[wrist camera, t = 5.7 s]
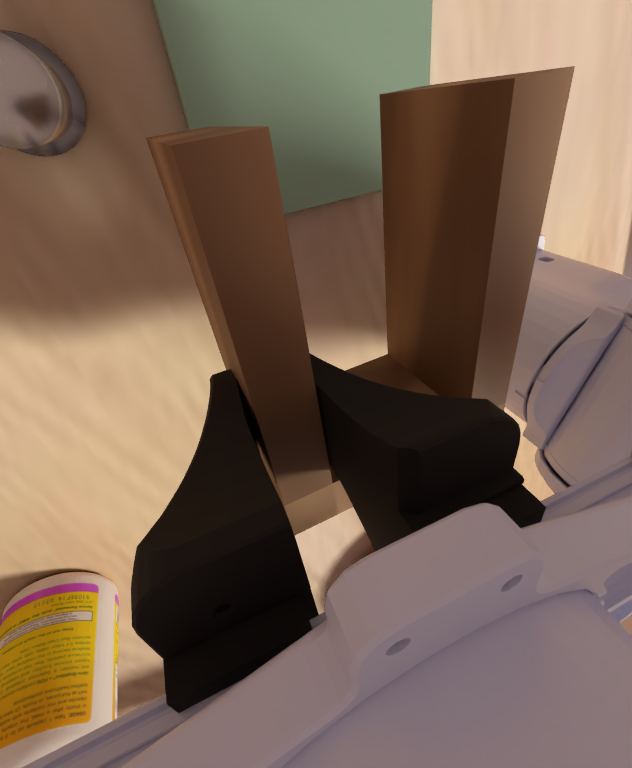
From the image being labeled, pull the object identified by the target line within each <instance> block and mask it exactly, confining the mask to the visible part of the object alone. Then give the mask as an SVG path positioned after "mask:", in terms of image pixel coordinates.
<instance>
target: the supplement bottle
mask: <svg viewBox="0 0 632 768" xmlns="http://www.w3.org/2000/svg"><path fill="white" fill-rule="evenodd" d="M118 610H119V602H118V591H117V588H116V586H115V585H114V584H113V583H112V582H111V581H110V580H109V579H107V578H105V577H103V576H101V575H98V574H94V573H89V572H68V573H62V574H57V575H53V576H50V577H47V578H44V579H41V580H39V581H36V582H34V583H32V584H30V585H28V586H27V587H25V588H24V589H22V590H21V591H20V592H18V593H17V594H16V595H15V596H14V597H13V598H12V599H11V600H10V601H9V603H8V604H7V606H6V608H5V610H4V612H3V615H2V619H1V622H0V768H21V767H23V766H25V765H27V764H29V763H31V762H33V761H35V760H37V759H39V758H41V757H43V756H45V755H47V754H49V753H51V752H53V751H55V750H57V749H58V748H60V747H62V746H64V745H66V744H68V743H70V742H72V741H74V740H76V739H78V738H80V737H82V736H84V735H86V734H88V733H90V732H92V731H94V730H96V729H98V728H99V727H101V726H103V725H105V724H107V723H109V722H111V721H113V720H115V719H117V677H118Z"/></svg>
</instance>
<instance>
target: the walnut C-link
mask: <svg viewBox="0 0 632 768" xmlns="http://www.w3.org/2000/svg"><path fill="white" fill-rule="evenodd" d="M574 67H575V66H573V67H565V68H557V69H550V70H542V71H535V72H527V73H519V74H512V75H504V76H496V77H489V78H481V79H473V80H466V81H458V82H451V83H443V84H435V85H428V86H421V87H416V88H411V89H405V90H400V91H395V92H390V93H384V94H379V95H380V126H381V156H382V187H383V218H384V249H385V279H386V310H387V341H388V354H387V355H384V356H382V357H379V358H377V359H374V360H372V361H369V362H366V363H364V364H361V365H359V366H356V367H353V368H351V369H348V370H346V372H348V373H351V374H353V375H356V376H358V377H361V378H364V379H366V380H369V381H372V382H376V383H379V384H382V385H386V386H389V387H393V388H397V389H402V390H407V391H412V392H417V393H423V394H429V395H437V396H446V397H458V398H479V399H488V400H489V401H491V402H492V403H493V404H495V405H496V406H497V407H499V408H500V409H501V410H503V411H504V407H505V402H506V398H507V393H508V388H509V383H510V378H511V373H512V368H513V364H514V359H515V354H516V349H517V344H518V339H519V334H520V330H521V325H522V320H523V315H524V310H525V305H526V300H527V296H528V291H529V286H530V281H531V276H532V271H533V266H534V262H535V257H536V252H537V247H538V242H539V237H540V232H541V228H542V223H543V218H544V213H545V208H546V203H547V198H548V194H549V189H550V184H551V179H552V174H553V169H554V164H555V160H556V155H557V150H558V145H559V140H560V135H561V130H562V126H563V121H564V116H565V111H566V106H567V101H568V97H569V92H570V87H571V82H572V77H573V72H574ZM146 139H147V142H148V144H149V147H150V150H151V153H152V156H153V159H154V162H155V165H156V168H157V171H158V173H159V176H160V179H161V182H162V185H163V188H164V191H165V194H166V197H167V200H168V202H169V205H170V208H171V211H172V214H173V217H174V220H175V223H176V226H177V229H178V231H179V234H180V237H181V240H182V243H183V246H184V249H185V252H186V255H187V257H188V260H189V263H190V266H191V269H192V272H193V275H194V278H195V281H196V284H197V286H198V289H199V292H200V295H201V298H202V301H203V304H204V307H205V310H206V313H207V315H208V318H209V321H210V324H211V327H212V330H213V333H214V336H215V339H216V342H217V344H218V347H219V350H220V353H221V356H222V359H223V362H224V365H225V368H226V370H229V369H231V371H232V372H233V374H234V376H235V377H236V380H237V383H238V386H239V389H240V392H241V395H242V398H243V401H244V404H245V407H246V410H247V413H248V416H249V419H250V422H251V425H252V428H253V431H254V434H255V438H256V441H257V444H258V448H259V451H260V455H261V458H262V460H263V462H264V465H265V467H266V469H267V471H268V474H269V476H270V478H271V480H272V482H273V484H274V487H275V489H276V491H277V493H278V495H279V497H280V499H281V501H282V504H283V506H284V509H285V511H286V513H287V516H288V518H289V521H290V524H291V526H292V530H293V533H294V535H296V534H298V533H301V532H303V531H305V530H307V529H309V528H311V527H313V526H315V525H317V524H319V523H321V522H323V521H325V520H327V519H329V518H331V517H333V516H335V515H337V514H339V513H341V512H343V511H345V510H347V509H349V508H351V507H353V505H352V503H351V501H350V499H349V497H348V495H347V494H346V492H345V490H344V488H343V486H342V484H341V482H340V480H339V479H338V477H337V475H336V474H335V472H334V470H333V469H332V467H331V466H330V464H329V460H328V455H327V449H326V444H325V438H324V432H323V427H322V421H321V416H320V410H319V404H318V399H317V393H316V388H315V382H314V377H313V371H312V365H311V360H310V354H309V349H308V343H307V338H306V332H305V326H304V321H303V315H302V310H301V304H300V298H299V293H298V287H297V282H296V276H295V271H294V265H293V259H292V254H291V248H290V243H289V237H288V232H287V226H286V220H285V215H284V209H283V204H282V198H281V192H280V187H279V181H278V176H277V170H276V165H275V159H274V153H273V148H272V142H271V137H270V131H269V126H227V127H204V128H198V129H193V130H188V131H182V132H177V133H172V134H166V135H161V136H156V137H151V138H146Z"/></svg>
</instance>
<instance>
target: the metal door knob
mask: <svg viewBox="0 0 632 768" xmlns="http://www.w3.org/2000/svg"><path fill="white" fill-rule="evenodd" d="M86 119H87V113H86V105H85V100H84V97H83V94H82V91H81V89H80V87H79V85H78V83H77V81H76V79H75V77H74V76H73V74H72V73H71V71H70V70H69V69H68V67H67V66H66V65H65V64H64V63H63V62H62V61H61V60H60V59H59V58H58V57H57V56H56V55H55V54H54V53H53V52H52V51H51V50H49V49H48V48H47V47H45V46H44V45H42V44H41V43H39V42H38V41H36V40H34V39H32V38H30V37H28V36H25V35H23V34H20V33H16V32H11V31H0V145H1V146H5V147H9V148H15V149H17V150H20V151H22V152H25V153H28V154H32V155H38V156H54V155H58V154H62V153H64V152H66V151H68V150H70V149H71V148H73V147H74V146H75V145H76V144H77V143H78V142H79V140H80V139H81V137H82V135H83V133H84V130H85V127H86Z"/></svg>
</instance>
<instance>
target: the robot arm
mask: <svg viewBox="0 0 632 768" xmlns="http://www.w3.org/2000/svg"><path fill="white" fill-rule="evenodd" d="M544 244H545V236H544V235H541V234H540V237H539V242H538V247H537V252H536V257H535V262H534V266H533V271H532V276H531V281H530V286H529V291H528V296H527V300H526V305H525V310H524V315H523V320H522V325H521V330H520V334H519V339H518V344H517V349H516V354H515V359H514V364H513V368H512V373H511V378H510V383H509V388H508V393H507V398H506V402H505V407H506V408H507V409H509V410H510V411H511V412H513V413H514V414H515V415H517V416H518V417H519V418H521V419H522V420H523V421H525V422H526V423H527V426H526V428H525V430H524V432H523V436H524V437H525V438H527V439H528V440H529V441H530V442H532V443H533V444H534V445H536V446H537V447H538V449H537V451H536V453H535V463H536V466H537V468H538V470H539V472H540V474H541V475H542V477H543V478H544V480H545V481H546V483H547V485H548V486H549V487H550V488H551V490H552V491H553V492H554V493H555V494H554V495H552V496H550V497H548V498H546V499H544V500H542V501H541V502H540V501H539V500H538V499H537V498H536V497H535V496H534V495H533V494H531V493H530V492H529V491H528V490H527V489H526V488H525V487H524V486H523V485H522V483H523V482H524V478H523V476H522V475H521V474H519V473H518V472H517V471H516V470H515V469H514V468H513V466H514V462H515V458H516V455H517V451H518V447H519V442H520V428H519V424H518V423H517V422H516V421H515V420H514V419H513V418H512V417H510V416H509V415H508V414H507V413H505V412H504V411H503V410H501V409H500V408H499V407H497V406H496V405H495V404H493V403H492V402H491V401H489V400H488V399H479V398H458V397H446V396H437V395H429V394H423V393H417V392H412V391H407V390H402V389H397V388H393V387H389V386H386V385H382V384H379V383H376V382H372V381H369V380H366V379H364V378H361V377H358V376H356V375H353V374H351V373H348V372H346V371H344V370H342V369H339V368H337V367H335V366H333V365H331V364H329V363H327V362H325V361H323V360H321V359H319V358H317V357H315V356H314V355H312V354H310V353H309V354H310V360H311V365H312V371H313V377H314V382H315V388H316V393H317V399H318V404H319V410H320V416H321V421H322V427H323V432H324V438H325V444H326V449H327V455H328V460H329V464H330V466H331V467H332V469H333V470H334V472H335V474H336V475H337V477H338V479H339V480H340V482H341V484H342V486H343V488H344V490H345V492H346V494H347V495H348V497H349V499H350V501H351V503H352V505H353V507H354V509H355V511H356V513H357V515H358V517H359V519H360V521H361V523H362V525H363V527H364V529H365V531H366V533H367V535H368V537H369V539H370V541H371V543H372V545H373V547H374V549H375V552H373V553H371V554H369V555H367V556H365V557H364V558H362V559H361V560H359V561H357V562H356V563H354V564H353V565H351V566H350V567H348V568H347V569H345V570H344V571H343V572H342V573H341V574H340V575H339V577H338V578H337V579H336V580H335V581H334V582H333V583H332V585H331V586H330V587H329V589H328V592H327V595H326V600H325V605H324V611H325V612H324V613H322V614H320V615H319V614H318V611H317V608H316V605H315V601H314V598H313V595H312V592H311V589H310V588H311V587H310V584H309V581H308V578H307V574H306V571H305V568H304V565H303V562H302V558H301V555H300V552H299V549H298V546H297V542H296V539H295V536H294V533H293V530H292V526H291V524H290V521H289V518H288V516H287V513H286V511H285V509H284V506H283V504H282V501H281V499H280V497H279V495H278V493H277V491H276V489H275V487H274V484H273V482H272V480H271V478H270V476H269V474H268V471H267V469H266V467H265V465H264V462H263V460H262V458H261V455H260V451H259V448H258V444H257V441H256V438H255V434H254V431H253V428H252V425H251V422H250V419H249V416H248V413H247V410H246V407H245V404H244V401H243V398H242V395H241V392H240V389H239V386H238V383H237V380H236V377H235V376H234V374H233V372H232V371H231V369H229V370H226V371H223V372H220V373H217V374H214V375H212V376H211V378H210V398H209V405H208V410H207V416H206V420H205V424H204V427H203V431H202V435H201V438H200V441H199V444H198V447H197V450H196V452H195V455H194V457H193V459H192V462H191V464H190V466H189V468H188V470H187V472H186V474H185V477H184V479H183V480H182V482H181V484H180V486H179V488H178V490H177V491H176V493H175V494H174V496H173V498H172V499H171V501H170V503H169V504H168V506H167V507H166V509H165V511H164V512H163V514H162V515H161V517H160V518H159V519H158V521H157V522H156V523H155V524H154V526H153V527H152V528H151V530H150V531H149V532H148V534H147V535H146V536H145V537H144V539H143V540H142V541H141V542H140V544H139V545H138V546H137V550H136V555H135V561H134V567H133V575H132V583H131V606H132V627H133V628H134V630H135V632H136V633H137V635H138V636H139V637H140V638H141V639H143V640H144V641H145V642H146V643H147V644H148V645H149V646H150V647H151V648H152V649H153V650H154V651H155V652H156V653H157V654H159V655H160V656H161V657H162V658H163V661H164V675H165V690H166V694H164V695H162V696H160V697H158V698H156V699H154V700H152V701H150V702H148V703H146V704H144V705H142V706H140V707H139V708H137V709H135V710H133V711H131V712H129V713H127V714H125V715H123V716H121V717H119V718H117V719H115V720H113V721H111V722H109V723H107V724H105V725H103V726H101V727H99V728H98V729H96V730H94V731H92V732H90V733H88V734H86V735H84V736H82V737H80V738H78V739H76V740H74V741H72V742H70V743H68V744H66V745H64V746H62V747H60V748H58V749H57V750H55V751H53V752H51V753H49V754H47V755H45V756H43V757H41V758H39V759H37V760H35V761H33V762H31V763H29V764H27V765H25V766H23V767H21V768H632V635H631V634H630V633H629V632H628V631H627V630H626V629H625V628H624V627H623V626H622V625H621V624H620V622H622V621H623V620H624V619H626V618H627V617H628V616H630V615H631V614H632V279H630V278H628V277H626V276H624V275H621V274H618V273H615V272H612V271H609V270H606V269H602V268H599V267H596V266H593V265H589V264H586V263H583V262H580V261H577V260H573V259H570V258H567V257H564V256H560V255H557V254H554V253H551V252H548V251H544V250H543V248H544Z"/></svg>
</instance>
